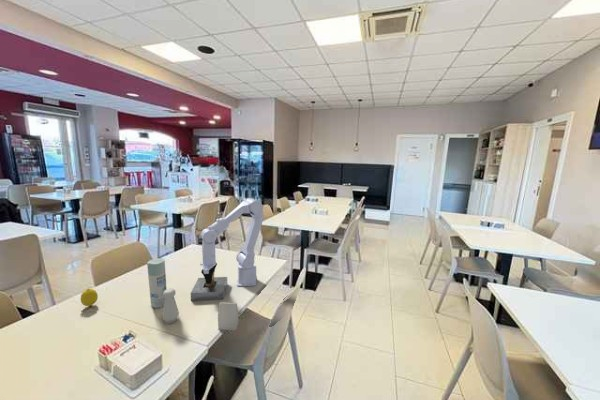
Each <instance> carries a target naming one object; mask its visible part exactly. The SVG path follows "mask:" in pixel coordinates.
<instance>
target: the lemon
mask: <svg viewBox="0 0 600 400" xmlns="http://www.w3.org/2000/svg"><path fill="white" fill-rule="evenodd" d="M98 298H99V296H98V293H97V291H96V290H95V289H93V288H87V289H85V290H84V291H83V292H82V293H81V295H80V303H81V304H82V306H85V307H92V306H93V305H94V304H96V302H97V301H98Z"/></svg>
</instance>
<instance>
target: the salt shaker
mask: <svg viewBox="0 0 600 400" xmlns="http://www.w3.org/2000/svg"><path fill="white" fill-rule="evenodd" d="M166 289H167V290H165V291H164V292H163V297H164V298H165V301H164V306H163V310H162V320H163V321H164V322H165V323H166V324H173V323H175V322H176V321H177V320H178V318H179V315H180V311H179V308H178V305H177V302H176V299H175V296H176V290H175V289H174V288H166Z"/></svg>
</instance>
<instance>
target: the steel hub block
mask: <svg viewBox="0 0 600 400" xmlns="http://www.w3.org/2000/svg"><path fill="white" fill-rule="evenodd" d="M227 288H228V276H217V277H216V276H214V286H212V287H207V286H206V283H205V278H204V277H198V278H197V280H196V281H195V284H194V286H193V288H192V289H191V292H190V301H191V302H199V301H202V302H203V301H218V300H219V301H220V300H224V298H225V295H226V291H227Z"/></svg>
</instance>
